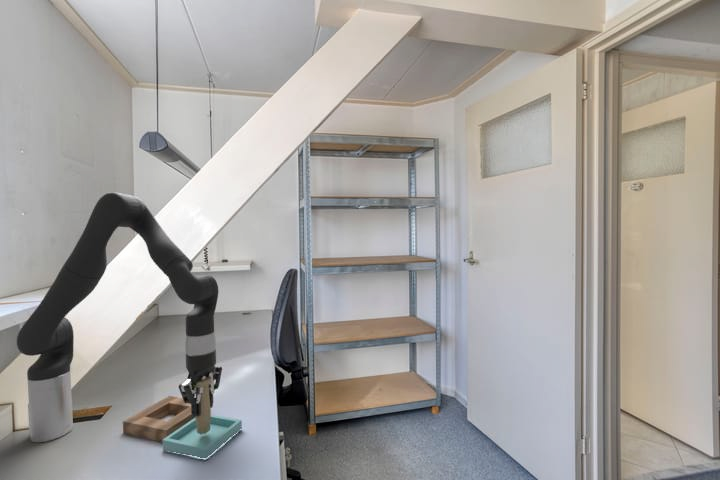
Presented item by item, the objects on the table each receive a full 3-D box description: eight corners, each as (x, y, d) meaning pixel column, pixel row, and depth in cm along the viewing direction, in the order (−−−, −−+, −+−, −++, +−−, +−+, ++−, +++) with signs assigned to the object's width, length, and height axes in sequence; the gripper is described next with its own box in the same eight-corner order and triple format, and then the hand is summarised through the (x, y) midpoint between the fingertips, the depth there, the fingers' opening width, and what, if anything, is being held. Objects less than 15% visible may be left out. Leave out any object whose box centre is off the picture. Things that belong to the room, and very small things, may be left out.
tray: (162, 450, 92) (162, 439, 92) (202, 422, 106) (202, 412, 106) (206, 461, 88) (205, 449, 88) (241, 430, 101) (241, 420, 101)
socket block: (123, 433, 101) (122, 421, 101) (169, 406, 116) (169, 395, 116) (166, 443, 96) (166, 430, 96) (209, 413, 111) (208, 402, 111)
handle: (213, 424, 101) (211, 371, 100) (212, 436, 95) (211, 380, 94) (194, 427, 99) (193, 374, 98) (192, 440, 93) (191, 383, 92)
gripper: (208, 340, 104) (210, 397, 104) (168, 357, 90) (170, 423, 91) (229, 342, 102) (231, 401, 102) (191, 360, 88) (193, 427, 89)
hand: (202, 411), depth 97 cm, fingers closed on handle, 4 cm apart
